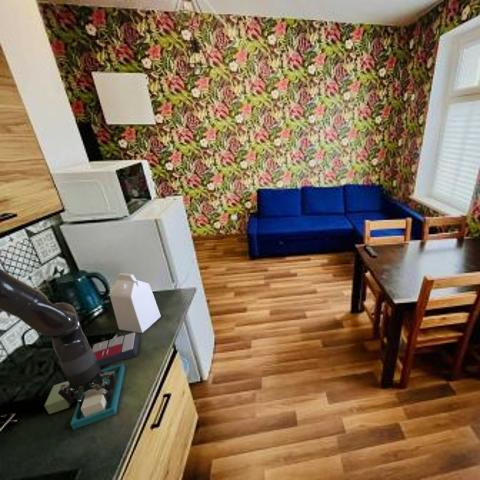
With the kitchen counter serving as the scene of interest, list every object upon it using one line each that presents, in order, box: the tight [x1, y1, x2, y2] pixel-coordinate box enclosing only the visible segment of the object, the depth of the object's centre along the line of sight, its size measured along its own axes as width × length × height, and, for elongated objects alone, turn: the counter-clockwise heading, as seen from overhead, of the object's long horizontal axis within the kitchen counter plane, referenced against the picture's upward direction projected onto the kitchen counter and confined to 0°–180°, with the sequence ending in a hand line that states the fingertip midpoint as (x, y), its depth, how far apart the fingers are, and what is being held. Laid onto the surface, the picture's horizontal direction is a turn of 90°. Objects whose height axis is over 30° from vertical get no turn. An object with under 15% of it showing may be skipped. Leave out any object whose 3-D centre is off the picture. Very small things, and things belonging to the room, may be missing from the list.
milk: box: [109, 272, 162, 334], centre depth 119 cm, size 12×12×26 cm
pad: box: [81, 382, 107, 417], centre depth 85 cm, size 5×8×4 cm, turn 27°
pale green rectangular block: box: [43, 380, 73, 415], centre depth 88 cm, size 5×8×4 cm, turn 27°
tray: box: [70, 363, 126, 430], centre depth 90 cm, size 11×20×2 cm, turn 27°
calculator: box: [91, 332, 140, 368], centre depth 106 cm, size 11×4×15 cm
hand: (97, 402), depth 86 cm, fingers closed on pad, 5 cm apart
